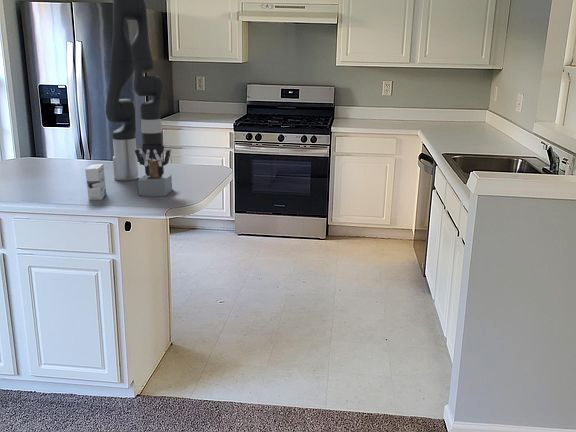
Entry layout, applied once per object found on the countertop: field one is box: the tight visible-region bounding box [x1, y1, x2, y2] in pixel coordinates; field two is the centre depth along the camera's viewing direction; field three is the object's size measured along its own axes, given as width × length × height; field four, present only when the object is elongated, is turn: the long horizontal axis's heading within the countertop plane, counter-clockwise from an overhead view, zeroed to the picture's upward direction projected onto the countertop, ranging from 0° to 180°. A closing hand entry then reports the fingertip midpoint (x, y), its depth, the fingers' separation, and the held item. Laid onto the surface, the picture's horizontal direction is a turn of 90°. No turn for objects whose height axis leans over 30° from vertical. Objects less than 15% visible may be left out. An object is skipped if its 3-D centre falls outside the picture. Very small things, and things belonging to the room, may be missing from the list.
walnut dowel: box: [149, 159, 160, 179], centre depth 216 cm, size 4×4×10 cm
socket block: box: [137, 173, 173, 197], centre depth 217 cm, size 10×10×6 cm
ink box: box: [85, 163, 107, 201], centre depth 210 cm, size 8×5×12 cm, turn 5°
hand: (154, 175), depth 216 cm, fingers open, 4 cm apart
